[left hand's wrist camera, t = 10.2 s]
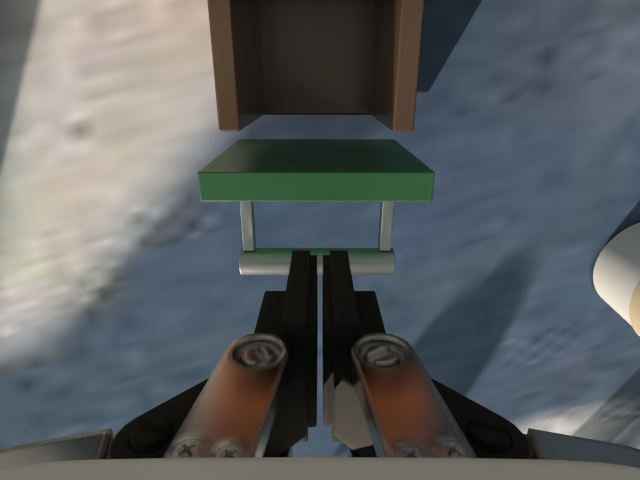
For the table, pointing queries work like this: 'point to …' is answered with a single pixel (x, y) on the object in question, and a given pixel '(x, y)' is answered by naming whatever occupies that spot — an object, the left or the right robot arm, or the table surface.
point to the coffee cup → (621, 275)
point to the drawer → (316, 113)
